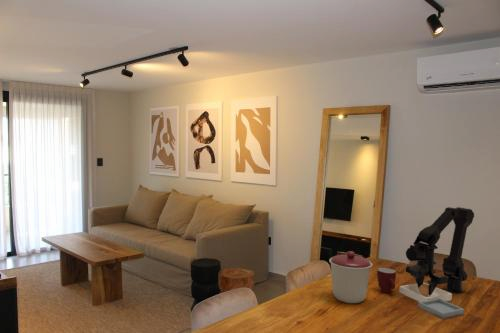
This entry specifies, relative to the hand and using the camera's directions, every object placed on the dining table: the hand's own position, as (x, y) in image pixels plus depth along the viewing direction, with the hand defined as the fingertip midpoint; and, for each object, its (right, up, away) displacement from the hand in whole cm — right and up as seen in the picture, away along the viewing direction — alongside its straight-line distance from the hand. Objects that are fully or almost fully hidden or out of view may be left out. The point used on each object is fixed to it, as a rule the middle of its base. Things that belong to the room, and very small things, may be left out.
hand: (425, 292), depth 175 cm
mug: (-16, -1, +3) cm, 16 cm away
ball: (0, +1, 0) cm, 2 cm away
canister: (-36, -1, -6) cm, 36 cm away
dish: (0, -2, 0) cm, 2 cm away
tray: (-1, -2, -16) cm, 16 cm away
